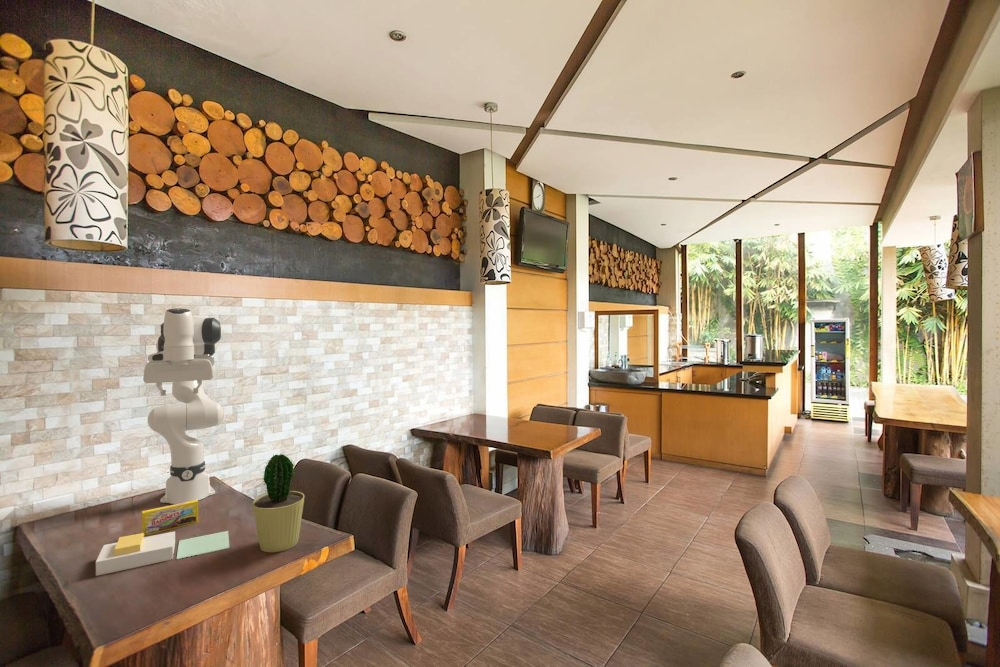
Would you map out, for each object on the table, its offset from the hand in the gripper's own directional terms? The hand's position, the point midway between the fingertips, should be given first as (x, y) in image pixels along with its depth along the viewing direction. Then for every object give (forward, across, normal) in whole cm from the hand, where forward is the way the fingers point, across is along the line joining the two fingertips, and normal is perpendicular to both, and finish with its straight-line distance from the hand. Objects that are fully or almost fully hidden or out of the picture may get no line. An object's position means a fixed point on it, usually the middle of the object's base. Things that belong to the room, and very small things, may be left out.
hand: (179, 394), depth 165 cm
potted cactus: (+47, -28, +31) cm, 63 cm away
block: (+43, +12, +19) cm, 49 cm away
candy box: (+47, +3, -1) cm, 48 cm away
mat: (+47, -7, +19) cm, 51 cm away
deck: (+47, +10, +19) cm, 52 cm away
